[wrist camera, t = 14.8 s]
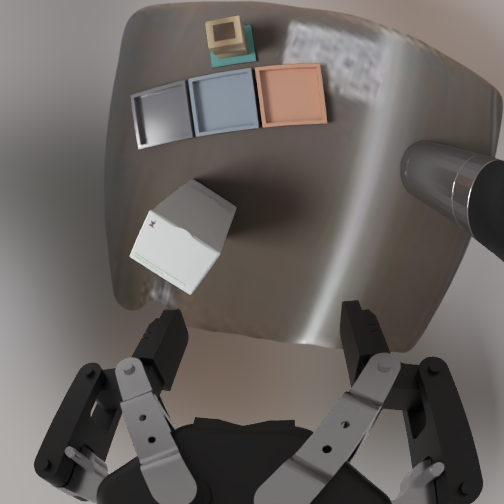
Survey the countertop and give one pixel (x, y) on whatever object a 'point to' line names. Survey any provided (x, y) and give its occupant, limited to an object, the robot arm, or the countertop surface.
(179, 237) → the skincare box
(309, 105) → the dish terracotta
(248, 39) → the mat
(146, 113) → the dish charcoal
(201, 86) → the dish slate
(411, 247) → the countertop surface
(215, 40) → the letter block
